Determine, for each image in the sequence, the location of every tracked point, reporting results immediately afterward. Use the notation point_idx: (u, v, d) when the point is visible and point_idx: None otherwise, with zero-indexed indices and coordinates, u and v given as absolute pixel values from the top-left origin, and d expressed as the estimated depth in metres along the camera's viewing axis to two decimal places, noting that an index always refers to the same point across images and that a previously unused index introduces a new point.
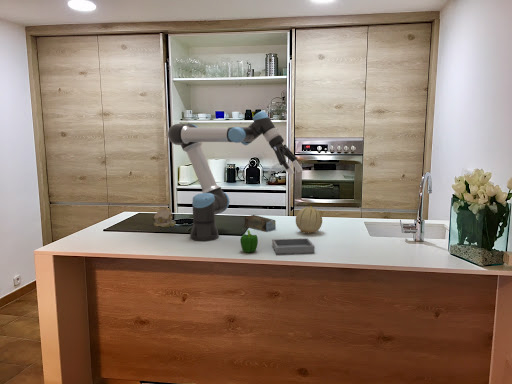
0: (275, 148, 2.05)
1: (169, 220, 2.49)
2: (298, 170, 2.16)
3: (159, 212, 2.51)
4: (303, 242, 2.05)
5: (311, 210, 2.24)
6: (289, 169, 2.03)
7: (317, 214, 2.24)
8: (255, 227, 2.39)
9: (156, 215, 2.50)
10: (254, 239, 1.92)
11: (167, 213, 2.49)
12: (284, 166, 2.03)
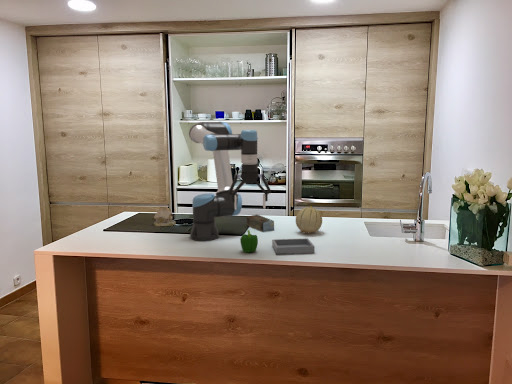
0: None
1: (169, 220, 2.49)
2: (263, 205, 1.94)
3: (159, 212, 2.51)
4: (303, 242, 2.05)
5: (311, 210, 2.24)
6: (234, 203, 1.92)
7: (317, 214, 2.24)
8: (254, 227, 2.40)
9: (156, 215, 2.51)
10: (254, 239, 1.92)
11: (167, 213, 2.49)
12: (232, 198, 1.92)
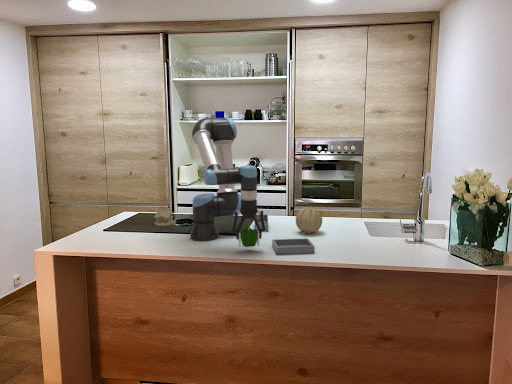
0: (234, 213, 1.93)
1: (170, 219, 2.51)
2: (257, 242, 1.97)
3: (159, 212, 2.52)
4: (303, 242, 2.05)
5: (311, 210, 2.24)
6: None
7: (317, 214, 2.24)
8: None
9: (156, 215, 2.52)
10: (254, 234, 1.92)
11: (168, 212, 2.50)
12: (236, 234, 1.95)
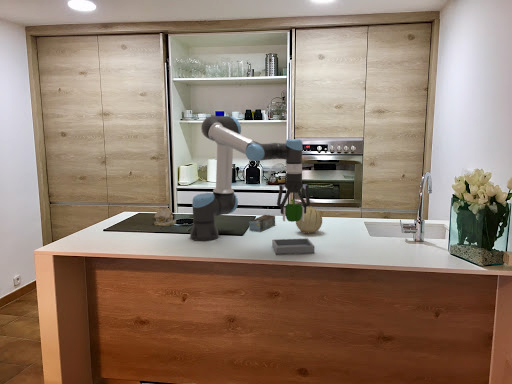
0: (279, 187, 1.91)
1: (170, 219, 2.52)
2: (301, 217, 1.95)
3: (160, 212, 2.53)
4: (303, 242, 2.05)
5: (311, 210, 2.24)
6: (283, 215, 1.93)
7: (317, 214, 2.24)
8: None
9: (156, 214, 2.52)
10: (299, 208, 1.90)
11: (168, 212, 2.51)
12: None
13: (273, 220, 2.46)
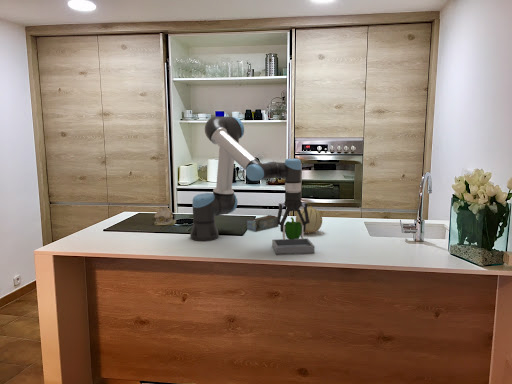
0: (279, 206, 1.94)
1: (170, 219, 2.52)
2: (301, 235, 1.98)
3: (159, 211, 2.53)
4: (303, 242, 2.05)
5: (311, 210, 2.24)
6: (283, 233, 1.96)
7: (317, 214, 2.24)
8: None
9: (156, 214, 2.53)
10: (299, 226, 1.94)
11: (168, 212, 2.52)
12: (280, 227, 1.97)
13: (275, 221, 2.43)
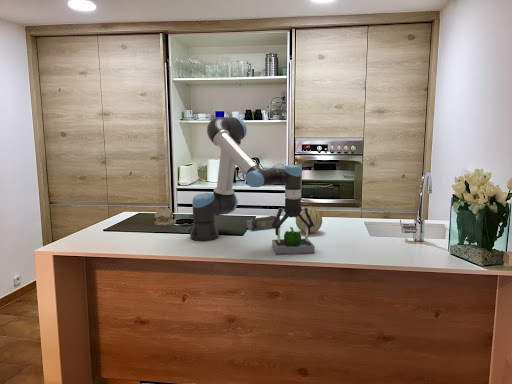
0: (278, 210, 1.95)
1: (170, 219, 2.53)
2: (305, 238, 1.99)
3: (159, 211, 2.54)
4: (303, 242, 2.05)
5: (311, 210, 2.24)
6: (278, 236, 1.96)
7: (317, 214, 2.24)
8: None
9: (156, 214, 2.53)
10: (298, 236, 1.94)
11: (168, 212, 2.53)
12: (275, 231, 1.97)
13: None
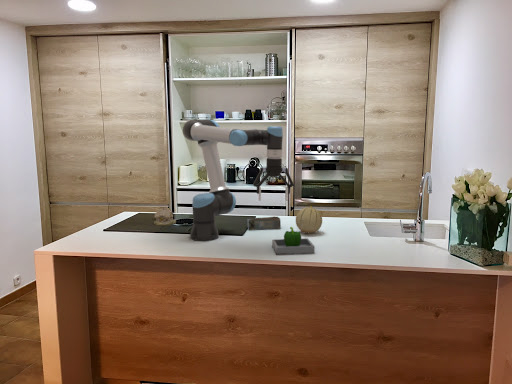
0: (260, 169, 2.02)
1: (170, 218, 2.54)
2: (285, 198, 2.07)
3: (159, 211, 2.54)
4: (303, 242, 2.05)
5: (311, 210, 2.24)
6: (259, 195, 2.04)
7: (317, 214, 2.24)
8: None
9: (156, 214, 2.54)
10: (298, 236, 1.94)
11: (168, 211, 2.53)
12: None
13: (276, 223, 2.38)
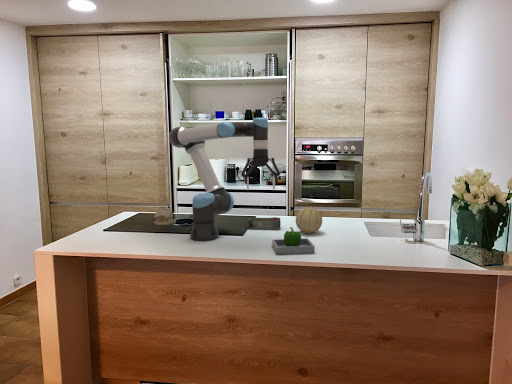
0: (247, 160, 2.10)
1: (170, 218, 2.54)
2: (273, 187, 2.14)
3: (159, 211, 2.55)
4: (303, 242, 2.05)
5: (311, 210, 2.24)
6: (247, 184, 2.12)
7: (317, 214, 2.24)
8: None
9: (156, 214, 2.54)
10: (298, 236, 1.94)
11: (168, 211, 2.54)
12: None
13: (274, 224, 2.36)
